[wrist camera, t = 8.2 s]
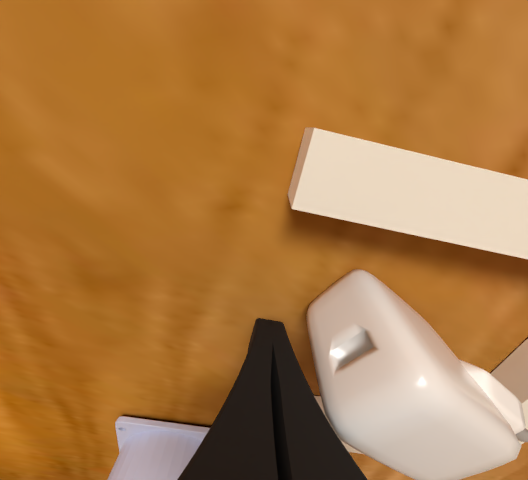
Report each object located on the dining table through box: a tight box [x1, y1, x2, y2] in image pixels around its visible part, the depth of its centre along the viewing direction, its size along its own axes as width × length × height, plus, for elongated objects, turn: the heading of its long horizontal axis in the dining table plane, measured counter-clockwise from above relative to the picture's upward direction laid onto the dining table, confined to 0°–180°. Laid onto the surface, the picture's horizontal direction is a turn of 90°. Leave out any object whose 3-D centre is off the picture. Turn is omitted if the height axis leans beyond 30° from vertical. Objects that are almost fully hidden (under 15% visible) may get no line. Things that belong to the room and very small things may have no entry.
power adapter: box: [306, 270, 528, 480], centre depth 10 cm, size 11×5×6 cm, turn 49°
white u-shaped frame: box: [288, 128, 528, 454], centre depth 12 cm, size 18×18×2 cm
